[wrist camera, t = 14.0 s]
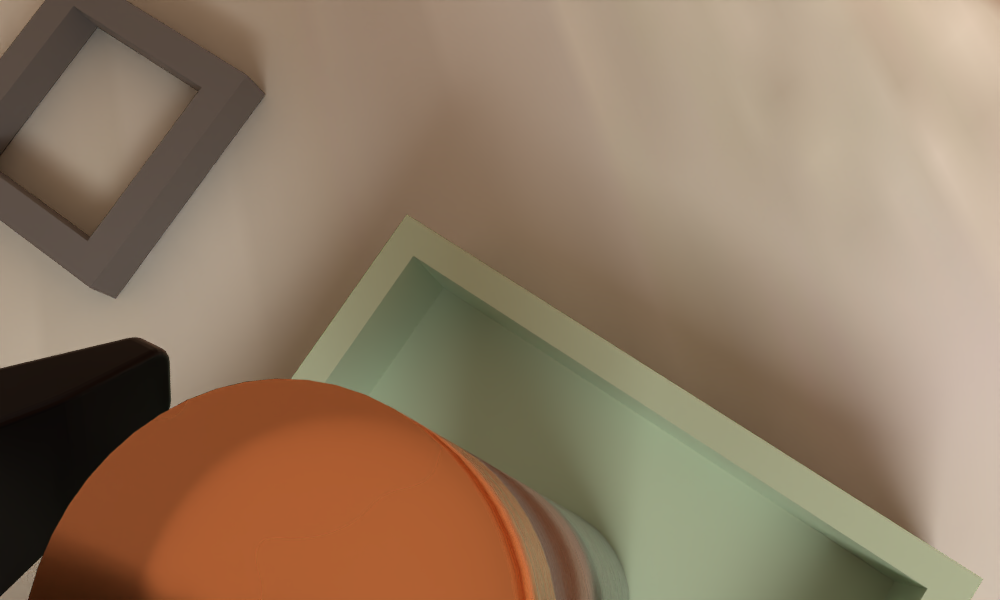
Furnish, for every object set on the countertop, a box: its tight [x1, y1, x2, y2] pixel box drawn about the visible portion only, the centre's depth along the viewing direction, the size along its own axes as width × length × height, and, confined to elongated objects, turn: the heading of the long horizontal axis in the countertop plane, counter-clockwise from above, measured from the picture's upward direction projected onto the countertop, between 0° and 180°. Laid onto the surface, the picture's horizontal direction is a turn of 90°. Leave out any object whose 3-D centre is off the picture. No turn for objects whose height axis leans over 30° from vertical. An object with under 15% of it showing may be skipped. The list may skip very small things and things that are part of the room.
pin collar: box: [0, 0, 265, 298], centre depth 23 cm, size 6×6×1 cm
